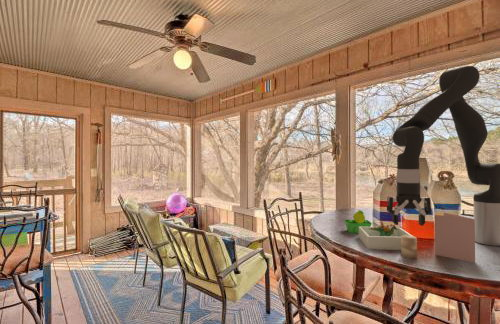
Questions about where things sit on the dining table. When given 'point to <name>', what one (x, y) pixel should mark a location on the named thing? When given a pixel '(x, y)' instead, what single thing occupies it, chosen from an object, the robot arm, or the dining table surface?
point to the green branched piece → (385, 230)
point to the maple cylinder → (409, 246)
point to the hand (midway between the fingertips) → (408, 224)
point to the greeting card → (455, 237)
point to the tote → (381, 238)
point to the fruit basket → (357, 222)
